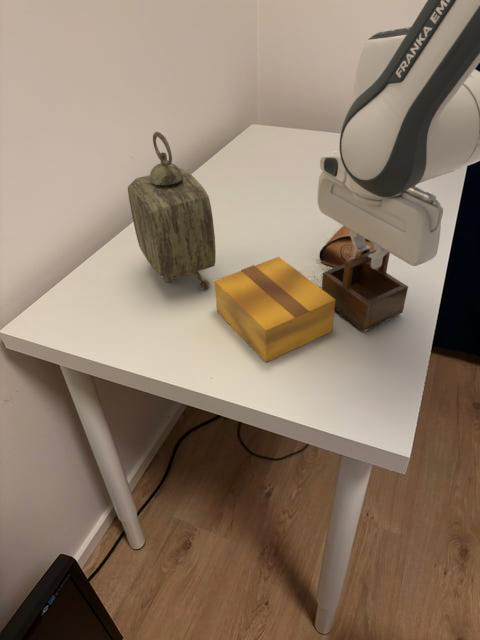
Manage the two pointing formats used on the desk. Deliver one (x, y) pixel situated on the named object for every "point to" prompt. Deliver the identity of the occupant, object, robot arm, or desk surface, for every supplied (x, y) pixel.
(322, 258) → the sunglasses case
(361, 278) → the basket
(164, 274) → the tabletop clock
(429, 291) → the desk surface
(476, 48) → the robot arm
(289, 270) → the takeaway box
